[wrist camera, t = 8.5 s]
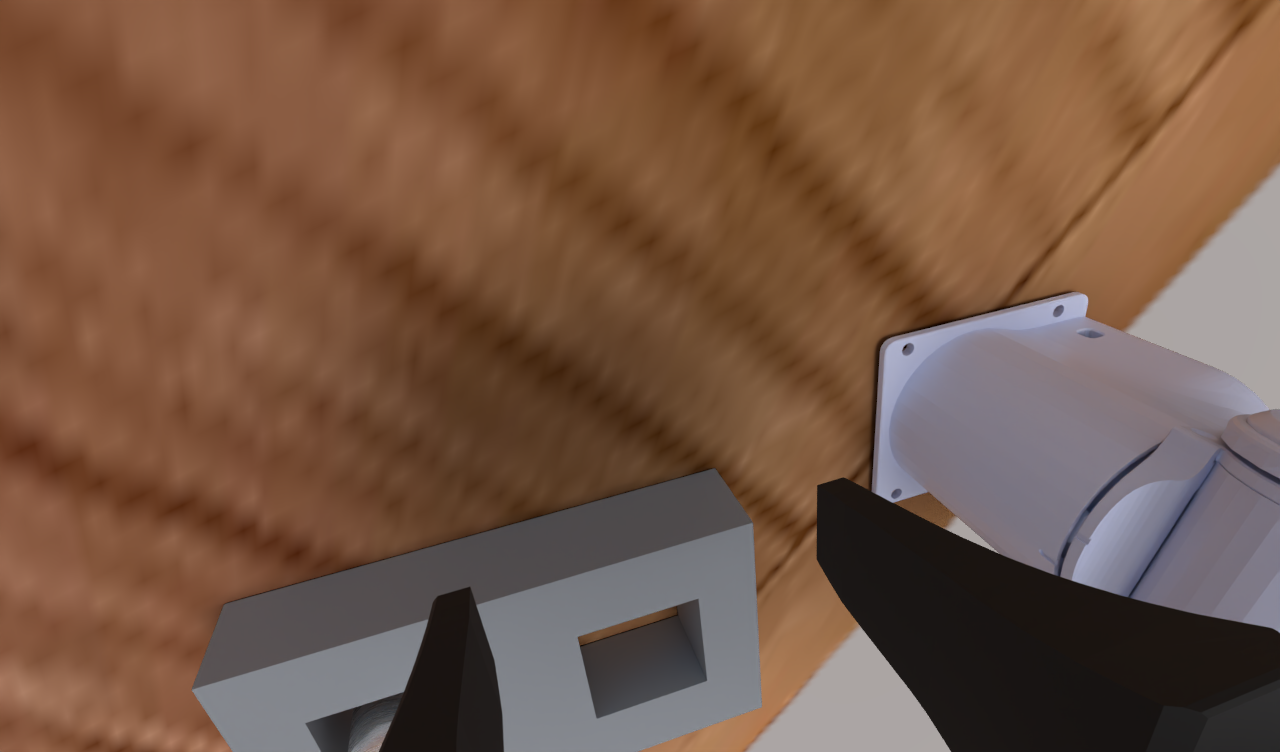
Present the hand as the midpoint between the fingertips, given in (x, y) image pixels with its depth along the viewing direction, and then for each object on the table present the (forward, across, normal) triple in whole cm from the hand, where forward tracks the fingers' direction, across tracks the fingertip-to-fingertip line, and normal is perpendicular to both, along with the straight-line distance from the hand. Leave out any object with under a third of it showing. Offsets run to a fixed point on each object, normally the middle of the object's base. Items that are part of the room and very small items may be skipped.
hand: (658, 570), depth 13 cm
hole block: (+10, +4, +11) cm, 16 cm away
